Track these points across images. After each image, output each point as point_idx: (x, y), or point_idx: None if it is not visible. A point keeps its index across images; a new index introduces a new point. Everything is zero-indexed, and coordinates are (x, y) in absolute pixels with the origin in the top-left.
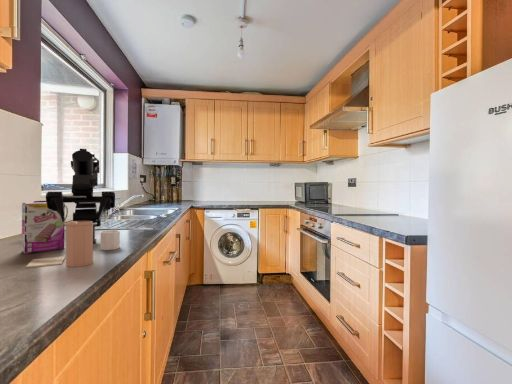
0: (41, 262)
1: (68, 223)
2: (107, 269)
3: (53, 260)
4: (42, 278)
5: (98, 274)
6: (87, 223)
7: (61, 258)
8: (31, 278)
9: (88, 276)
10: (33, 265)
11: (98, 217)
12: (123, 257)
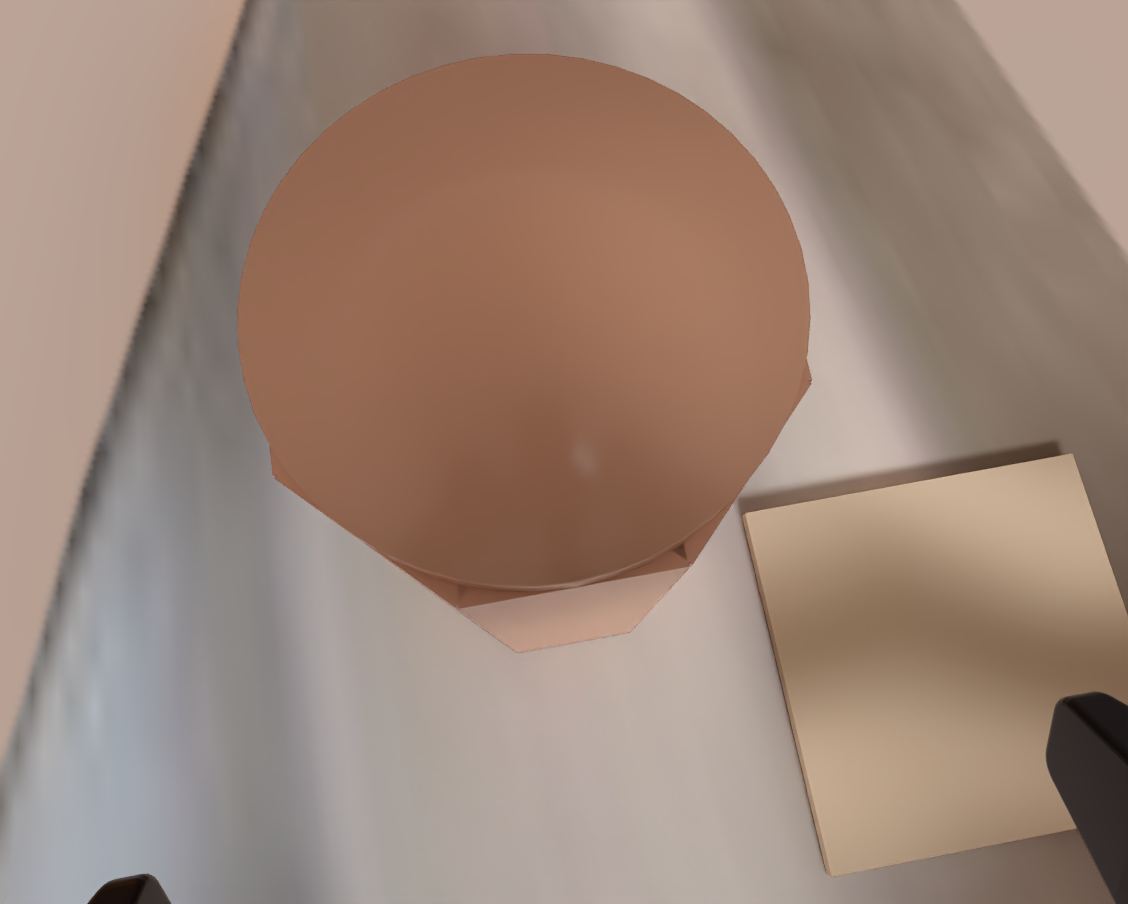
0: (992, 599)
1: (708, 119)
2: (227, 210)
3: (892, 668)
4: (730, 79)
5: (290, 79)
6: (324, 144)
7: (835, 760)
8: (823, 99)
9: (365, 45)
10: (1013, 477)
11: (113, 899)
12: (73, 691)
